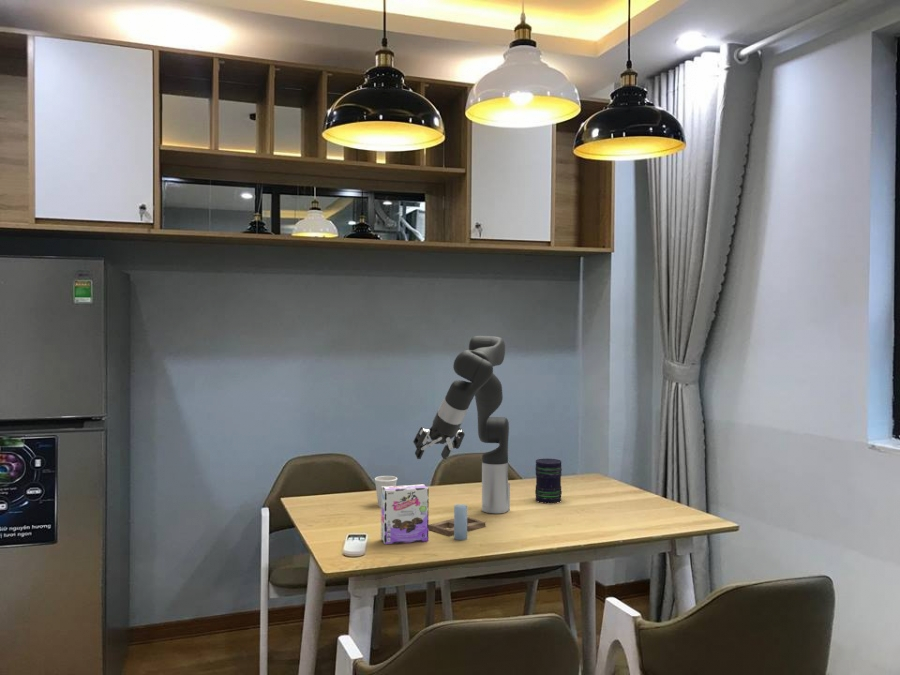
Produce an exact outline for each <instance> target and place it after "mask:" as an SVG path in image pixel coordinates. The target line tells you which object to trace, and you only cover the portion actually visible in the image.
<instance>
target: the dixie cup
mask: <svg viewBox="0 0 900 675" xmlns="http://www.w3.org/2000/svg"><path fill="white" fill-rule="evenodd" d="M397 481H398V477H396V476H393V475H379V476H376V477H375V478H374V482H375V483H374V484H375V489H376V490H375V491H376V499H377V500H376V501H377V506H378V507H380V508H381V496H382V489H381V487H382V486H385V487H386V486H397Z"/></svg>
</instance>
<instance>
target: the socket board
mask: <svg viewBox="0 0 900 675" xmlns="http://www.w3.org/2000/svg"><path fill="white" fill-rule="evenodd" d="M485 527H486V521H484V520H479V519H476V518H472V517H469V516H467V532H470V531H474V530H478V529H481V528H485ZM428 531H432V532H435V533H437V534H442V535H445V536H448V537H451V536H454V518H451V519H446V520H443V521H439V522H438V521H437V522H434V523H429V524H428Z"/></svg>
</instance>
